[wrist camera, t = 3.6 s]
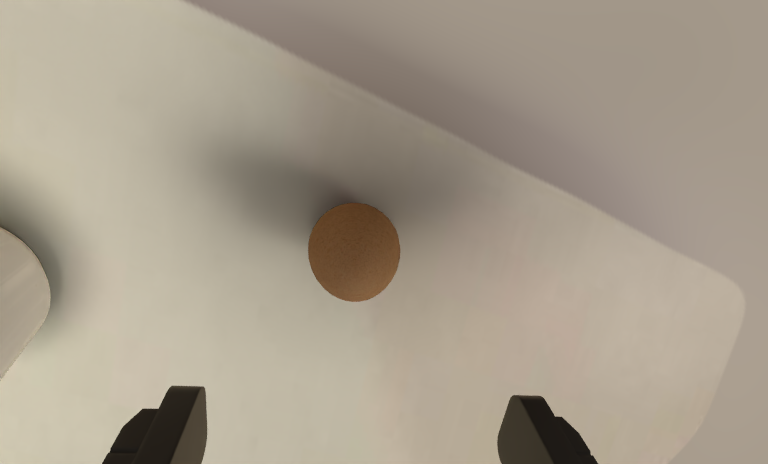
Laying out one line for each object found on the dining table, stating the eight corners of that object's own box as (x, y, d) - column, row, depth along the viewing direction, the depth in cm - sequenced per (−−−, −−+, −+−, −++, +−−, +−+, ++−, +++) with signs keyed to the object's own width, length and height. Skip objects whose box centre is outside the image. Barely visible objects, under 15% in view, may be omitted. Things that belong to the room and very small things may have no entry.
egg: (391, 185, 22) (407, 230, 16) (395, 260, 24) (412, 323, 18) (306, 193, 22) (294, 241, 16) (317, 268, 23) (310, 334, 18)
